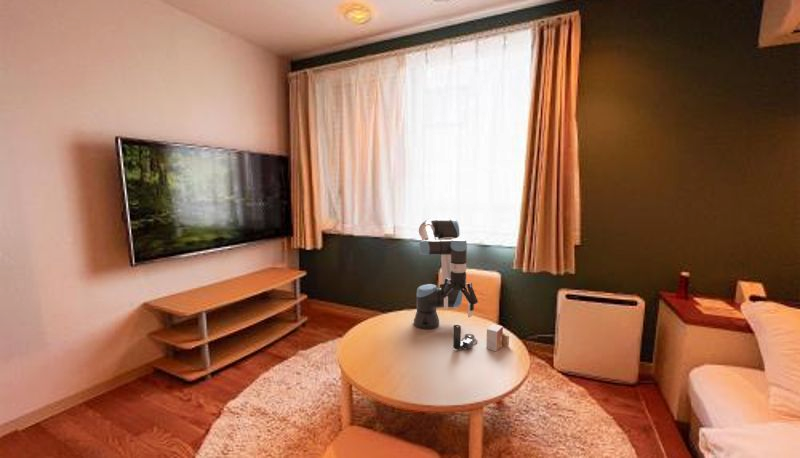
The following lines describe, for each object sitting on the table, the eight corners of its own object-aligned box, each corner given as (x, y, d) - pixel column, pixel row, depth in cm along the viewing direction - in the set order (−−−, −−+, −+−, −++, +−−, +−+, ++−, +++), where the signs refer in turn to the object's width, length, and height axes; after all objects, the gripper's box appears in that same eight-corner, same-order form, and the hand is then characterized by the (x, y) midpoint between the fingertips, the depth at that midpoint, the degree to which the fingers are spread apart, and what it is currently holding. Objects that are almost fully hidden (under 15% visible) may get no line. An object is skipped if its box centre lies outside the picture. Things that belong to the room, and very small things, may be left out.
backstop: (494, 341, 174) (494, 330, 173) (496, 340, 175) (496, 329, 174) (506, 347, 167) (507, 336, 167) (508, 346, 168) (509, 335, 167)
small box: (496, 351, 163) (497, 332, 162) (486, 348, 167) (486, 329, 165) (502, 345, 170) (503, 326, 168) (492, 342, 173) (492, 323, 171)
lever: (467, 336, 178) (468, 315, 176) (479, 340, 173) (480, 318, 171) (450, 349, 165) (450, 326, 163) (462, 354, 160) (463, 330, 158)
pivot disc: (458, 340, 175) (458, 339, 175) (469, 336, 180) (469, 335, 180) (469, 346, 169) (469, 345, 169) (480, 342, 173) (480, 341, 173)
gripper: (432, 268, 163) (432, 309, 166) (478, 277, 147) (477, 322, 150) (440, 265, 169) (440, 304, 172) (485, 273, 153) (484, 317, 156)
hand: (457, 313), depth 161 cm, fingers open, 13 cm apart
